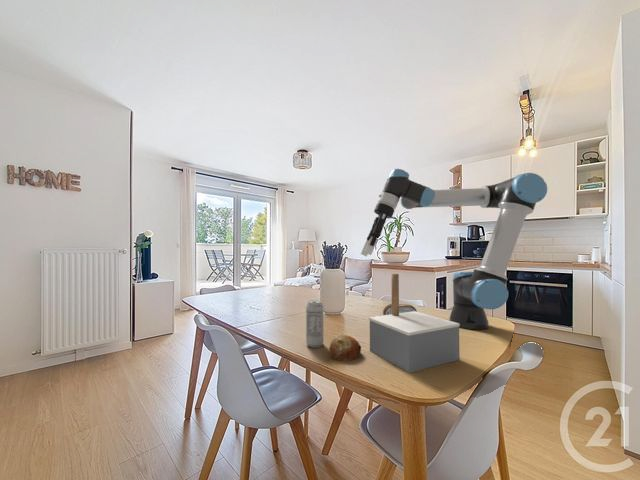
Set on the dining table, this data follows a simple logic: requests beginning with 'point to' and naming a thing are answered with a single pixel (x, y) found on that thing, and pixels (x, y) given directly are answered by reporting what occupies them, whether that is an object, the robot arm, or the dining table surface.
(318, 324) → the energy drink can
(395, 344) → the carton
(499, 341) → the dining table surface
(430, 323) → the flap
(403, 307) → the tin
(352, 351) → the bread roll
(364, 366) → the dining table surface
